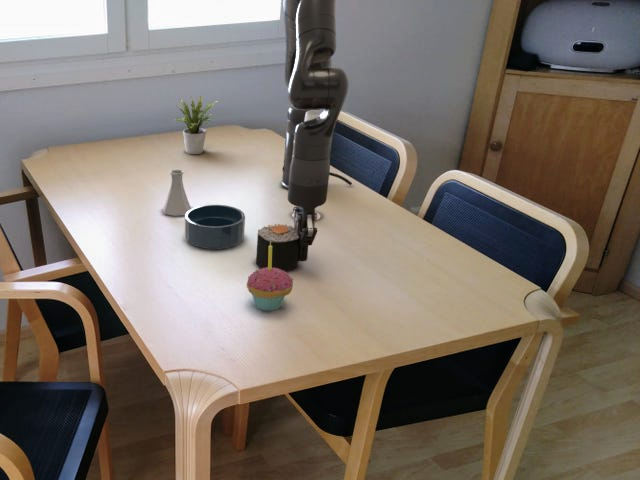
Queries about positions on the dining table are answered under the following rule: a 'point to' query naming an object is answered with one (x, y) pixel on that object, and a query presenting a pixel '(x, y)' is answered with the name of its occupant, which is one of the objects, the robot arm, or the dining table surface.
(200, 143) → the house plant
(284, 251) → the sushi
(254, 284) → the cupcake
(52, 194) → the dining table surface
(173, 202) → the flask
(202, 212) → the bowl
